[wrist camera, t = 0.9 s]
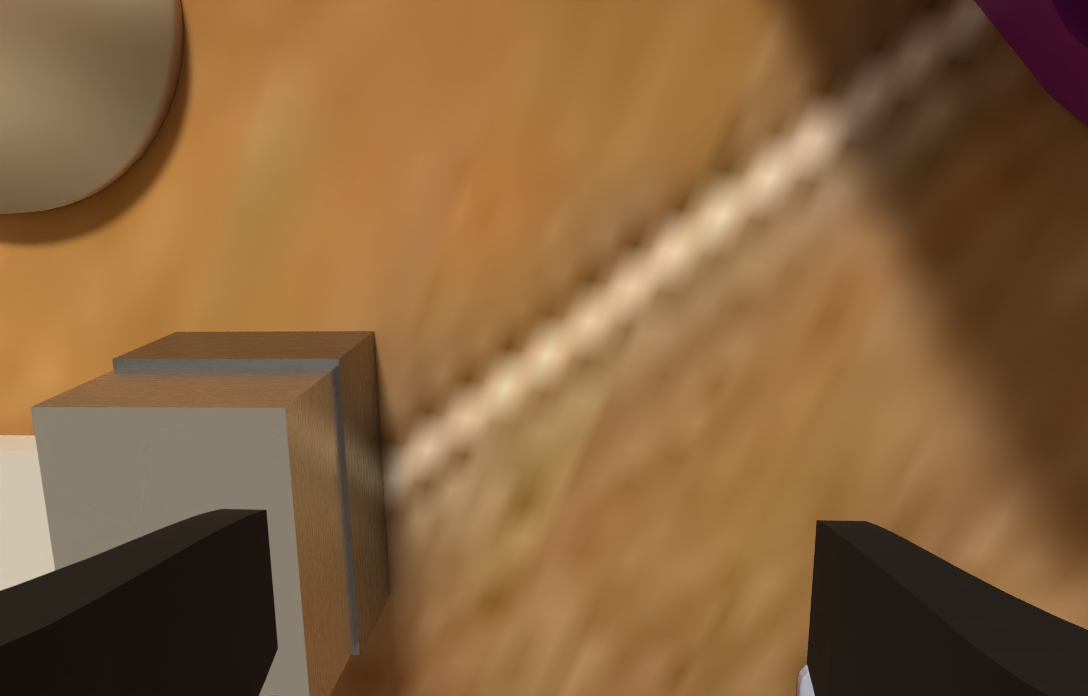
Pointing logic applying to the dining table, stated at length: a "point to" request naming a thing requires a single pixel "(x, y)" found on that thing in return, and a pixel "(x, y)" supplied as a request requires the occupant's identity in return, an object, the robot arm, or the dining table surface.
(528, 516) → the dining table surface
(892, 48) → the dining table surface
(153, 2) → the metal coaster
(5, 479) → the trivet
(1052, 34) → the mounting bracket
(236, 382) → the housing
